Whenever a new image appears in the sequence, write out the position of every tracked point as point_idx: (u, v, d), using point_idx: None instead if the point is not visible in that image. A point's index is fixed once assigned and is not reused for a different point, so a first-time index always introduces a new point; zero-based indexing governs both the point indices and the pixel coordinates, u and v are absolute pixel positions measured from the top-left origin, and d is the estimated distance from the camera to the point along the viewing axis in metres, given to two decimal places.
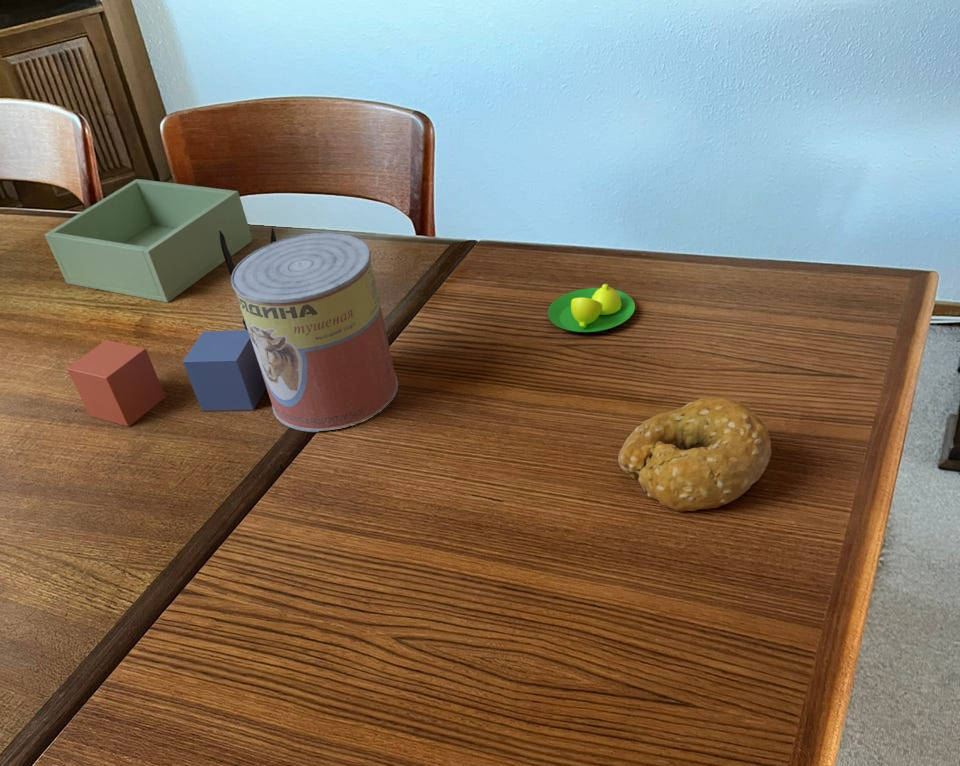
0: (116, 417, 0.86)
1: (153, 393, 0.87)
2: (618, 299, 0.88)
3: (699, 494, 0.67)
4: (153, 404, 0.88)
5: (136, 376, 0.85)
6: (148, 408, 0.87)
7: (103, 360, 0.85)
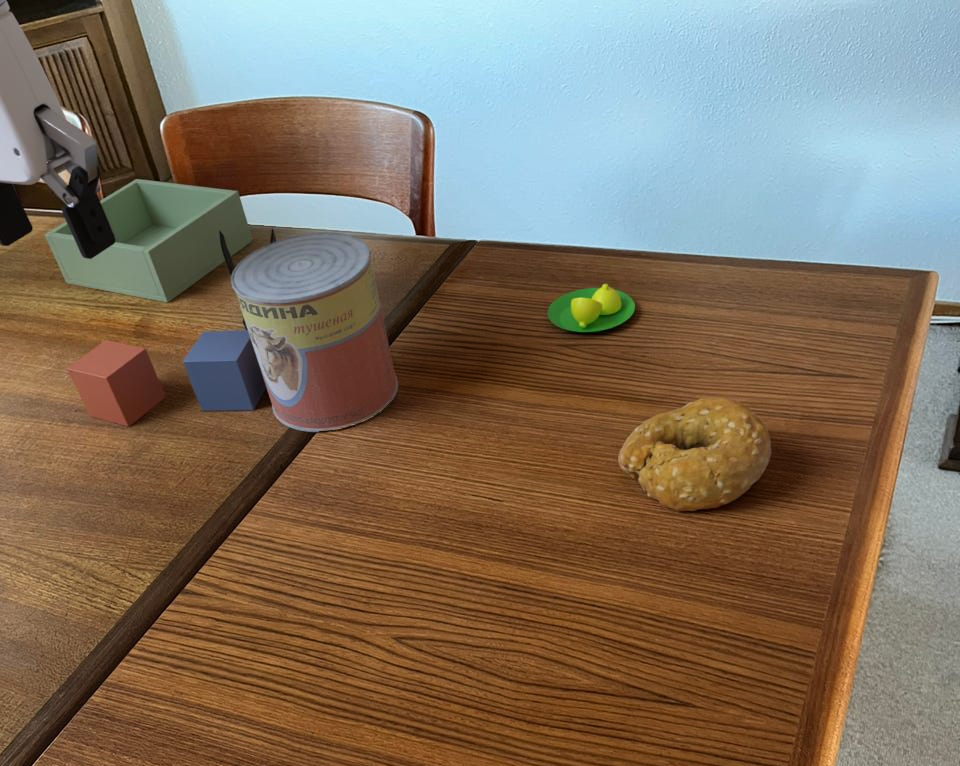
0: (116, 417, 0.86)
1: (153, 393, 0.87)
2: (618, 299, 0.88)
3: (699, 494, 0.67)
4: (153, 404, 0.88)
5: (136, 376, 0.85)
6: (148, 408, 0.87)
7: (103, 360, 0.85)
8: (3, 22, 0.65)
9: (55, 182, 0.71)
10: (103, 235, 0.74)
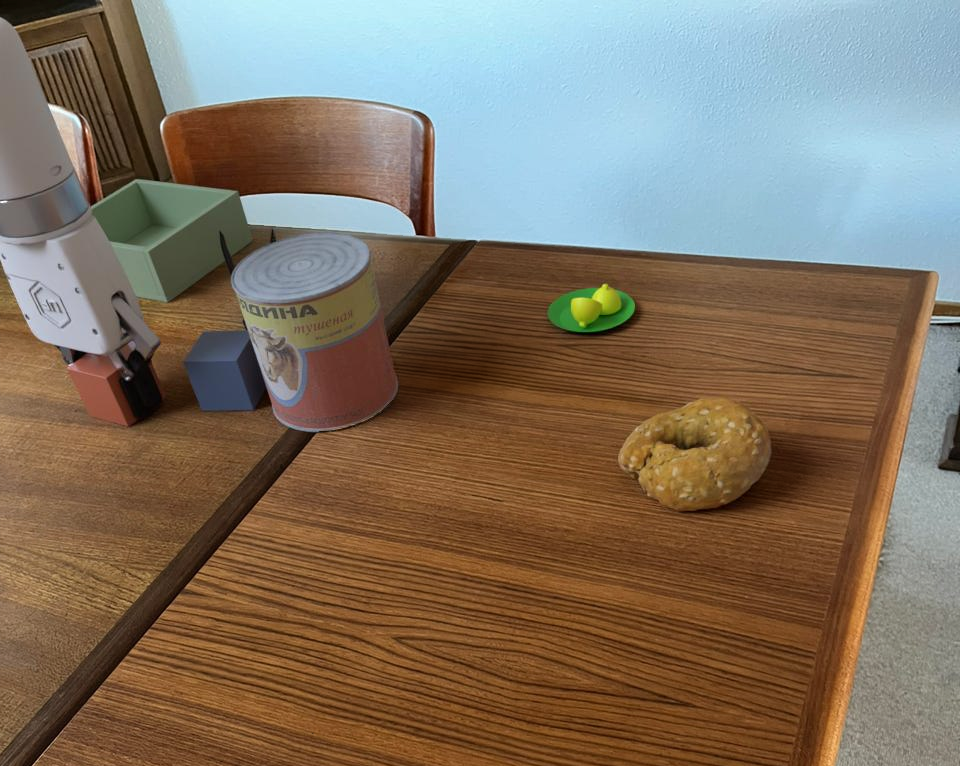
0: (116, 417, 0.86)
1: None
2: (618, 299, 0.88)
3: (699, 494, 0.67)
4: None
5: None
6: None
7: (103, 360, 0.85)
8: (88, 228, 0.75)
9: (118, 361, 0.82)
10: (153, 399, 0.86)
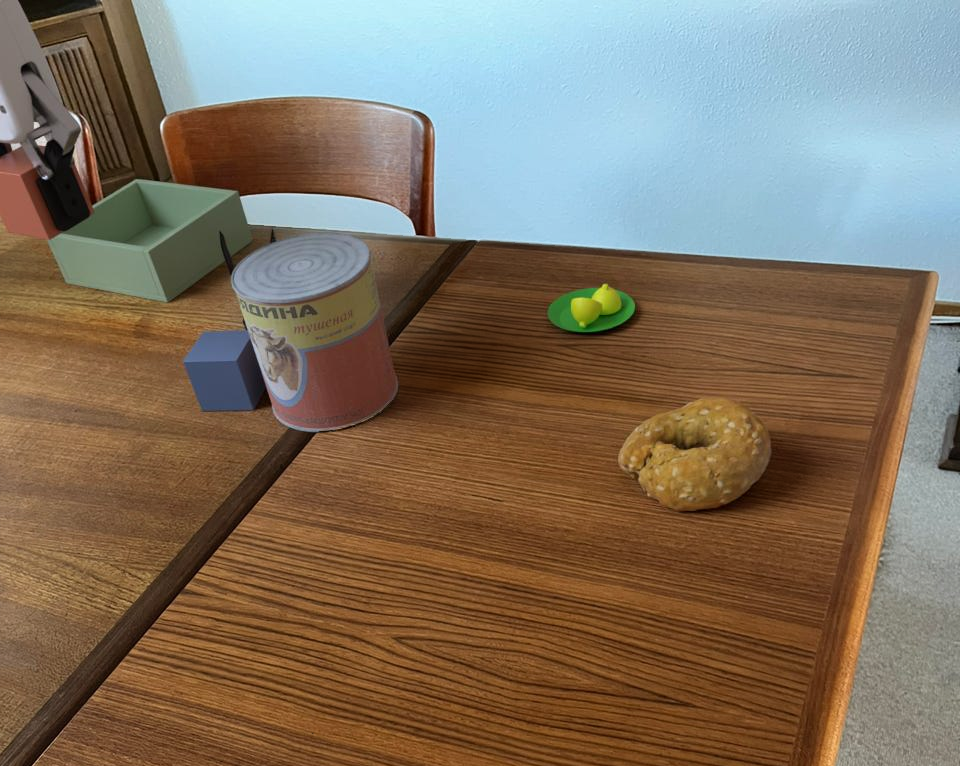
0: (36, 229, 0.76)
1: None
2: (618, 299, 0.88)
3: (699, 494, 0.67)
4: None
5: None
6: None
7: (19, 161, 0.74)
8: None
9: (34, 153, 0.72)
10: (77, 208, 0.76)
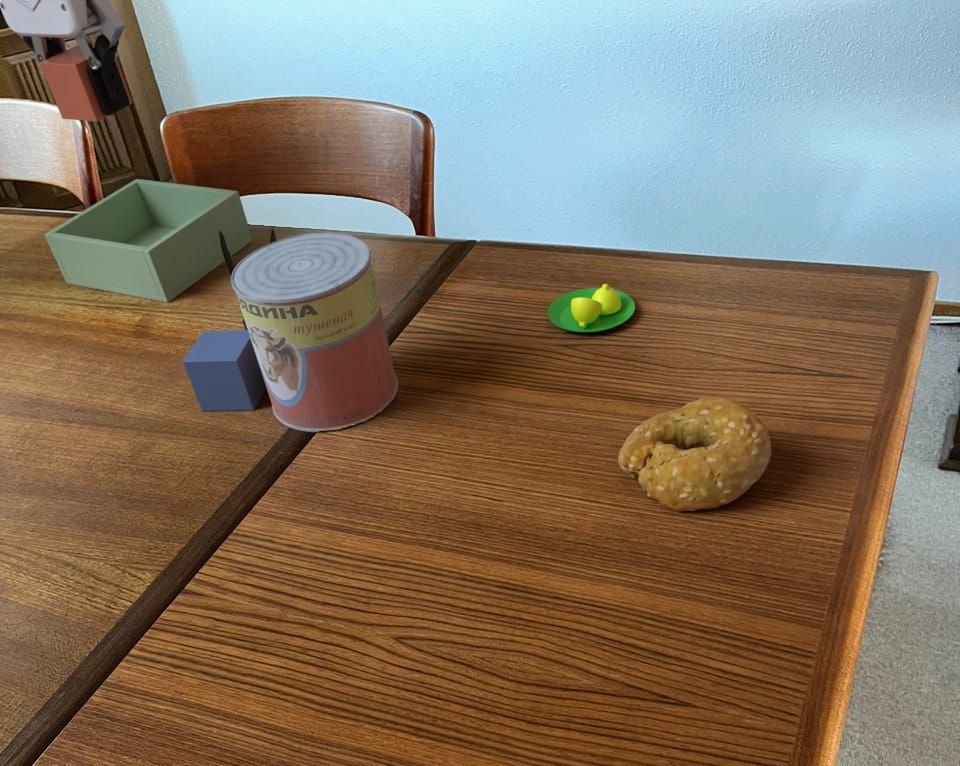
0: (86, 113, 0.93)
1: None
2: (618, 299, 0.88)
3: (699, 494, 0.67)
4: None
5: None
6: None
7: (73, 56, 0.92)
8: None
9: (86, 47, 0.89)
10: (120, 96, 0.93)
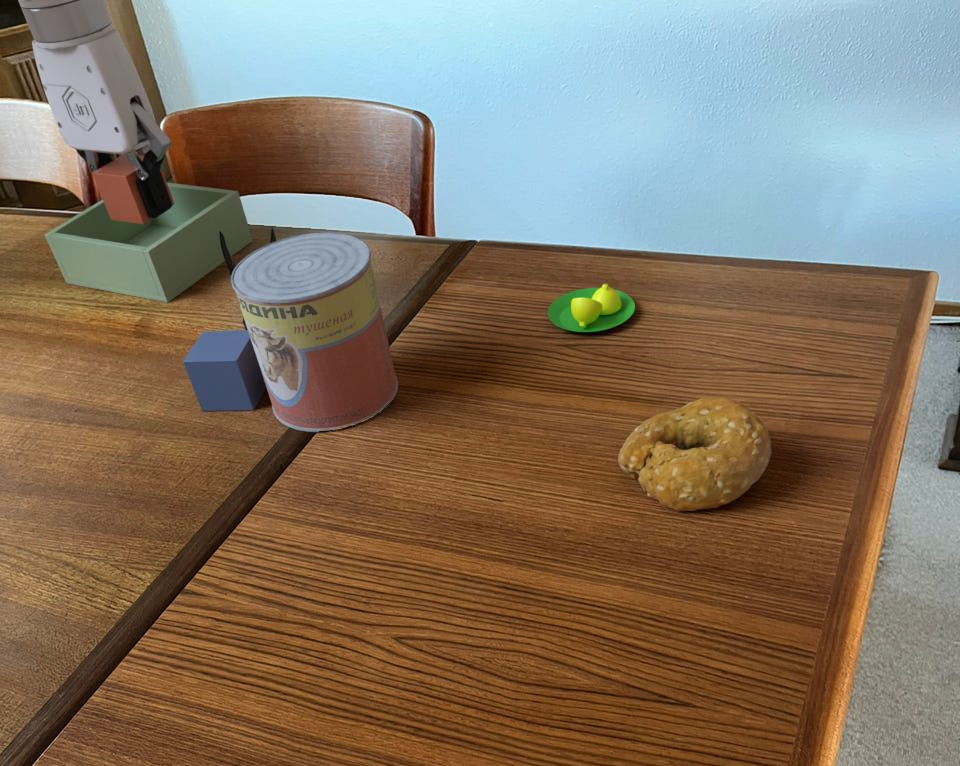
0: (134, 216, 1.03)
1: None
2: (618, 299, 0.88)
3: (699, 494, 0.67)
4: None
5: None
6: None
7: (122, 166, 1.01)
8: (111, 37, 0.91)
9: (135, 161, 0.99)
10: (164, 201, 1.03)
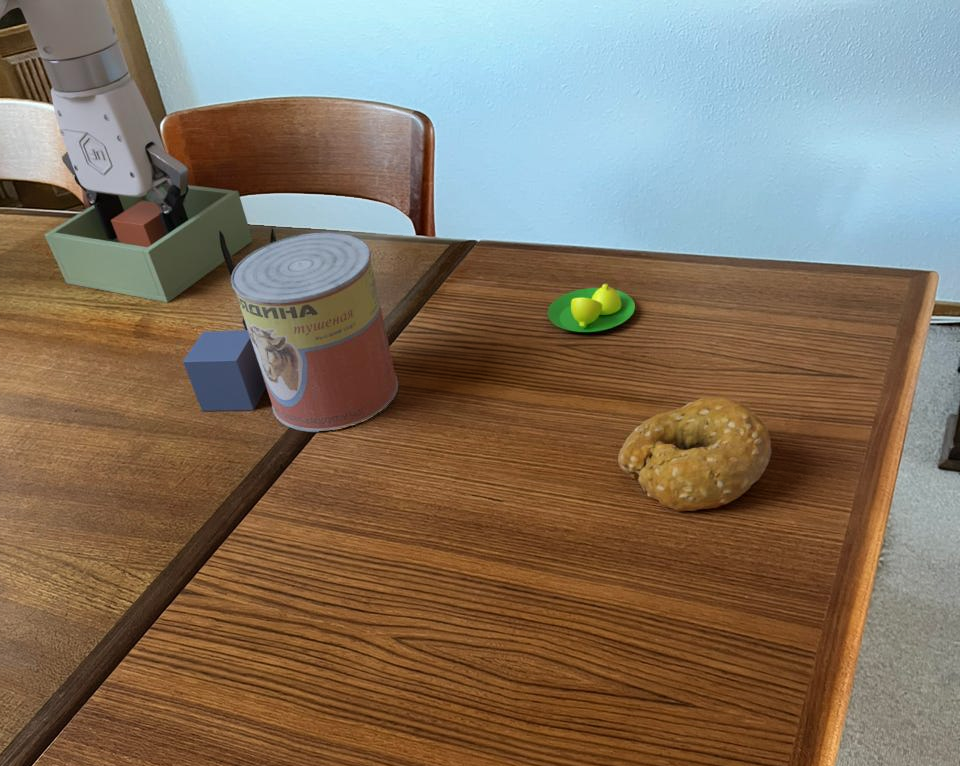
0: None
1: None
2: (618, 299, 0.88)
3: (699, 494, 0.67)
4: None
5: None
6: None
7: (140, 214, 1.05)
8: (128, 87, 0.95)
9: (156, 196, 1.00)
10: None
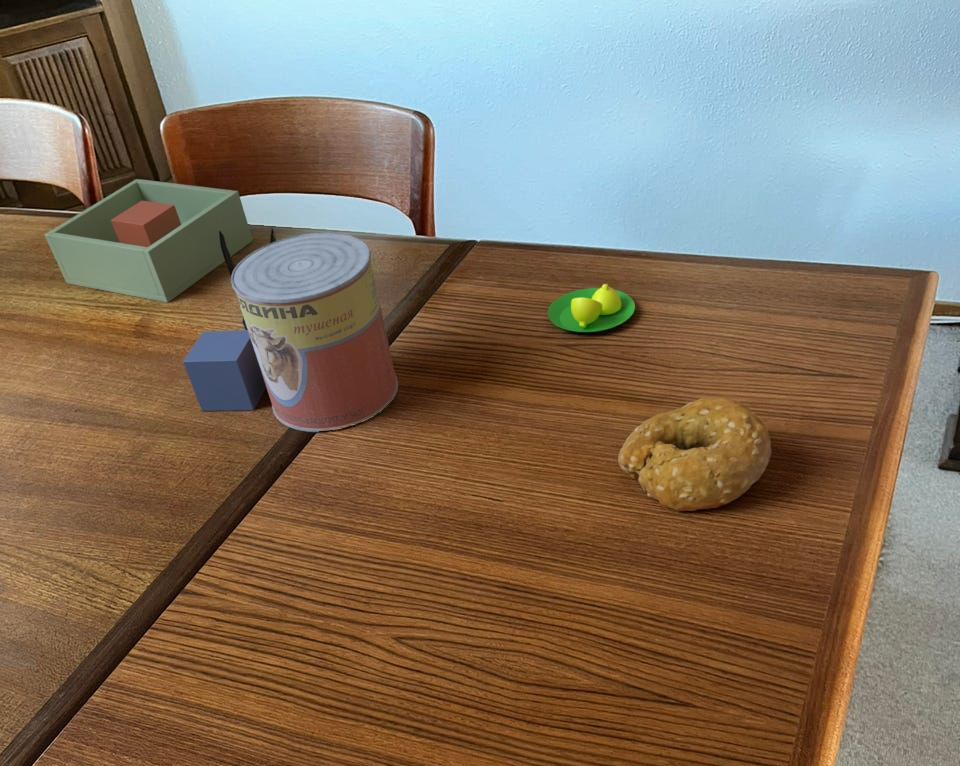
0: None
1: None
2: (618, 299, 0.88)
3: (699, 494, 0.67)
4: None
5: (167, 227, 1.06)
6: None
7: (140, 214, 1.05)
8: None
9: None
10: None
